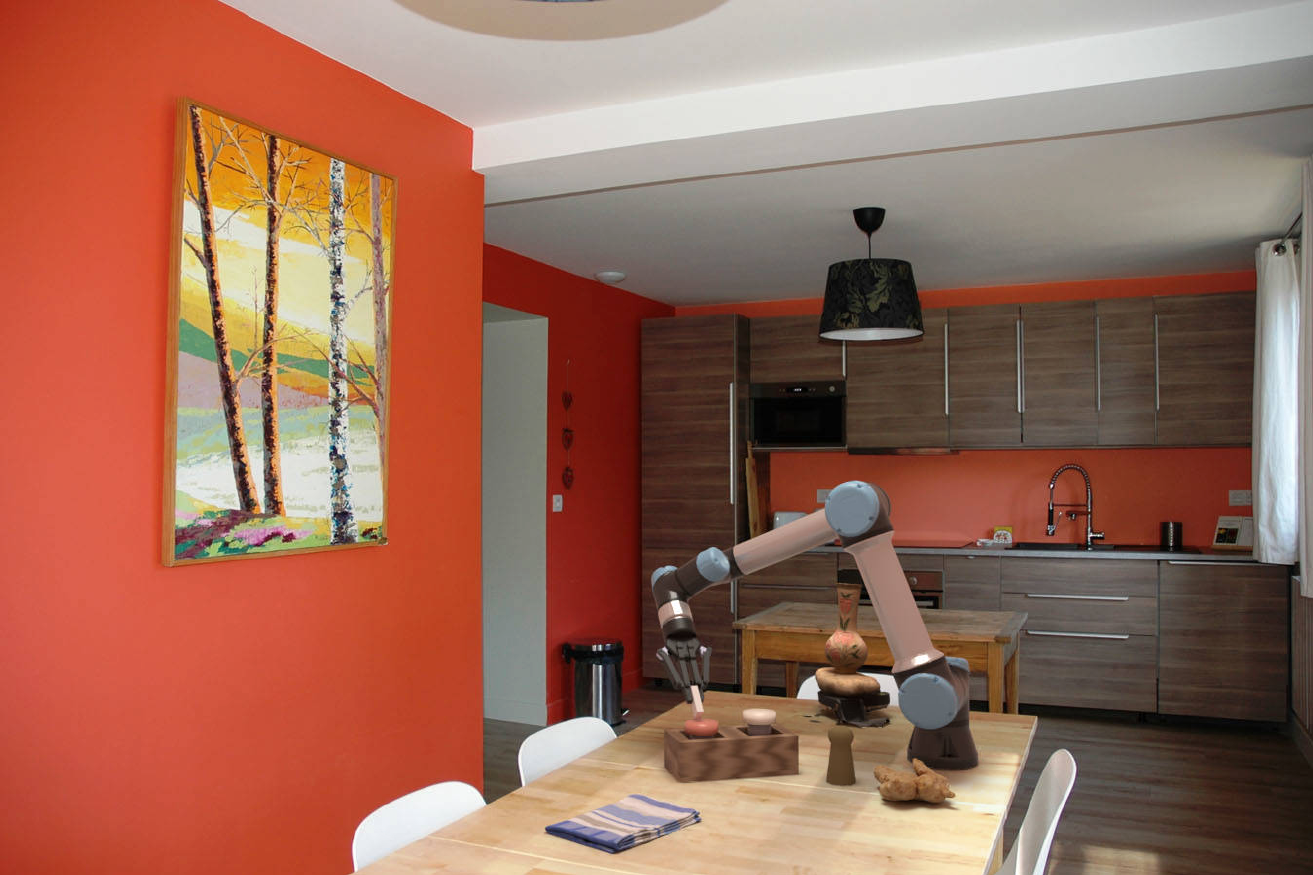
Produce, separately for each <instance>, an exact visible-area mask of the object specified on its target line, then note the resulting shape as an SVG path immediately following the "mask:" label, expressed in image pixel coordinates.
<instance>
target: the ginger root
mask: <svg viewBox="0 0 1313 875" xmlns="http://www.w3.org/2000/svg"><path fill="white" fill-rule="evenodd" d="M912 764H913V765H912V766H913V771H914V773H915V774H914V773H911V772H909V771H899V770H898V771H896V770H895V769H894V768H892V767H889V766H887V765H881V764H880V765H878V764H877V765H875V767H874V770H873V774H874V775H873V776H874V779H875V780H876V781H877V782H879V783H880V784H881V785H880V786H879V794H880V797H882V798H883V799H885V800H886V801H888V802H892V803H893V802H894V803H895V802H896V803H897V802H901V801H910V800H911V801H913V800H914V801H918V800H921V801H925V802H928V803H932V804H943V803H944V800H946V799H954V798H955V797H956V793H955V792H954V791H951V790H950V783H949V782H948V778H947V777H945V776H944V775H941V774H940V773H939V774H938V773H936V772H935V771H934V770H933V769H932V768H929V767H926V765H924V763H923V762H922V761H920V760H917V759H913V763H912Z"/></svg>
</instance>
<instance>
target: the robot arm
mask: <svg viewBox="0 0 1313 875" xmlns="http://www.w3.org/2000/svg"><path fill="white" fill-rule="evenodd" d="M891 502H892V501H891V498H890V496H889V495H888V492H886V490H885V489H884V488H882V487H881V486H880V485H879V484H877V483H873V482H870V481H869V482H868V481H860V480H850V481H847V482H844V483H841V484H839V485H837V486H836V487H834V488H833V489H832V490H831V492H829V494H828V496H827V497H826V500H825V504H824V508H822V509H819V510H818V511H815V512H813V513H809V514H808V515H805V516H804V517H801V518H798V519H796V520H793V521H791V522H789V523H786V524H785V525H781V526H779V527H776V528H774V529H772V530H770V531H768V532H765V533H763V534H761V535H758V536H756V537H753V538H751V539H748V540H746V541H743V542H741V543H739V544H737V545H734V546H732V547H729V548H727V549H724V550H720V549H718V548H717V547H713V546H712V547H709V548H708V549H706V550H703V551H701V552H700V553H699V554H698V555H696V556H695V557H693V558H691V559H690V560H689V561H687V562H686V563H684V564H683V565H682V566H680V567H676V566H673V565H666V566H665V567H662V566H661V567H659V568H657V569H656V570H654V572H653V573H652V575H651V579H650V582H651V590H652V591H651V592H652V594H653V598H654V601H655V605H656V609H657V615H658V620H659V624H660V628H661V633H662V639H663V642H664V646H663V647H662V648H661V647H660V648H658V649H657V652H656V653H655V654H656V655H655V659H657V660H658V661H659V662H660V664H661V665H662V667H663V669H664V671H665V672H666V675H667V677H668V679H669V681H670V682H671V684H672V686H673V688H674V689H673V690H675V691H682V692H681V693H682V695H684V698H685V702H686V704H687V705H691V711H692V714H693V719H703V718H702V717H703V715H704V713H705V710H704V706H703V703H704V701H705V694H704V691H703V690H706V689H707V687H708V684H709V682H710V657H711V654H712V651H713V648H712V647H711V646H708V647H707V648H706V647H704V645H703V646H702V643H701V642H700V640H699V639H698V636H697V635H698V634H697V631H696V628H695V623H694V619H693V615H692V611H691V608H690V604H689V601H690V599H692V598H693V597H695V596H697V595H698V594H700V593H701V592H703V591H705V590H706V589H708V588H711V587H714V586H718V585H722V584H730V583H733V582H735V581H736V580H738V579H740V578H743V577H745V576H747V575H749V574H751V573H754V572H757V571H759V570H761V569H764V568H767V567H770V566H772V565H774V564H777V563H779V562H782V561H784V560H787V559H789V558H792V557H794V556H797V555H799V554H803V553H804V552H807V551H809V550H812V549H813V548H817V547H819V546H821V545H824V544H826V543H829V542H831V541H835V540H837V539H839V541H840V544H841V547H842V548H843V551H844V552H846V553H849V554H850V555H852V556H853V558H854V560H855V562H856V566H857V568H858V571H859V573H860V576H861V578H862V580H863V582H864V586H865V588H866V591H867V593H868V595H869V599H870V600H871V604H872V606H873V608H874V611H875V614H876V616H877V619H878V621H879V624H880V626H881V629H882V631H883V633H884V636H885V639H886V642H887V644H888V647H889V649H890V652H891V654H892V657H893V659H894V664H893V667H892V669H891V674H892V677H893V679H894V681H895V684H896V687H897V690H898V693H897V699H898V701H897V702H898V706H899V709H900V711H901V713H902V715H903V716H904V718H906V720H907V721H908V722H910V724H912V725H914V726H913V729H912V733H911V736H910V739H909V742H908V745H907V749H906V752H907V753H906V756H907V758H906V759H907V761H909V762H910V763H911V764H913V759H917V760H920V761H922V762H923V763H924V765H926V767H928V768H929V769H937V770H948V771H949V770H950V771H951V770H953V771H956V770H957V769H959V770H968V769H973V768H975V767H977V766H978V765H979V754H978V750H977V747H976V744H975V740H974V738H973V734H972V730H971V727H970V674H971V671H970V665H969V661H968V660H967V659H966V658H962V657H954V656H945V653H943V652H942V651H940V650H937V649H936V648H935V647H934V646H933V642H932V640H931V638H930V636H929V633H928V630H927V627H926V626H925V625H926V624H925V623H924V621H923V618H922V615H921V613H920V610H919V608H918V605H917V602H916V601H915V598H914V595H913V593H912V591H911V588H910V585H909V582H908V580H907V578H906V576H905V573H904V570H903V568H902V566H901V562H900V561H899V558H898V556H897V553H896V551H895V548H894V545H893V543H892V539H893V537H894V534H895V533H896V531H895V528H894V527H893V524H892V521H891V519H890V517H891V513H892V503H891ZM698 653H700V657H701V658H702V659H701V658H700V659H701V673H700V672H699V666H698V664H697V656H698ZM671 658H672V659H673V660H674V662H675V665H676V666H674V664H673V661H672V660H671ZM676 667H677V670H676ZM687 667H688V668H687ZM688 671H689V673H688ZM689 674H690V676H689ZM700 674H701V675H700ZM690 679H691V680H690ZM690 681H691V682H692V685H691V682H690ZM955 769H956V770H955Z"/></svg>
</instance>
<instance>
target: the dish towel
mask: <svg viewBox="0 0 1313 875" xmlns="http://www.w3.org/2000/svg"><path fill="white" fill-rule="evenodd" d="M700 814H701V812H700V811H699V810H697V809H696V808H691V807H687V806H682V805H680V804H675V803H671V802H670V801H663V800H662V801H661V800H659V799H656V798H653V797H651V796H648V795H645V794H638V793H634V794H629V795H628V796H626V797H624V798H622V799H621V800H617V801H616V802H613V803H610V804H607V805H604V806H602V807H601V806H600V807H598V808H595V809H594V810H591V811H588V812H585V813H581V814H579V815H576V816H573V817H572V818H570V819H566V820H563V821H559V822H556V823H552V824H550V825H546V826H545V827H544V830H545V832H546V833H548V834H550V835H553V836H556V837H558V838H562V839H565V840H567V841H570V842H573V843H576V844H579V845H582V846H585V847H588V848H589V847H590V848H593V849H596V850H599V851H602V852H605V853H608V854H611V855H613V854H615V853H618V852H620V851H621V852H622V851H625V850H627V849H630V848H632V847H636V846H640V845H643V844H645V843H648V842H649V841H652V840H654V839H656V838H659V837H662V835H663V836H666V835H670V834H673V833H675V832H678V831H680V830H681V829H684V828H686V827H688V826H691V825H694V824H697V823H699V822H700V821H702V820H703V819H702V817H701V816H699V815H700ZM696 822H697V823H696ZM677 830H678V831H677ZM672 832H673V833H672Z"/></svg>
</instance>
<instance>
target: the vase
mask: <svg viewBox="0 0 1313 875" xmlns="http://www.w3.org/2000/svg"><path fill="white" fill-rule="evenodd" d="M835 584H836V589H837V590H836V592H837V605H838V616H837V617H838V618H837V619H838V620H837V627H836V630H835V632H834V633H833V634H832V635H831V636H830V637H829V638H828V639H827V641H826V643H825V646H824V656H825V659H826V660H827V662H828V664H830V665H831V667H830V666H829V667H821V668H818V669H817V670H816V672H815V674H814V678H815V681H816V683H817V687H818V691H817V699H818V700H817V702H818V703H819V704H820V706H819V707H818V709H817V713H816V714H815V715H814V717H816V716H817V717H818V716H819V714H820V711H822V710H824V711H825V710H827V709H828V710H834V713H835V717H836V719H837V720H838V721H837V723H836V724H837V725H840V724H841V722H842V723H843V724H846V723H847V724H848V723H849V724H853V725H856V726H857V727H860V729H863V728H862V727H867V728H869V727H870V726H872V725H874V726H876V727H877V728H878V727H882V728H884V724H885V723H888V722H890V723H891V721H890V718H888V717H882V718H872V719H871V718H868V716H869V714H870V713H873V712H874V711H880V710H884V709H887V708H888V706H890V704H891V695H890V692H887V691H881V683H879V682H878V680H877V679H876V678H875V677H874V676H869V675H866V674H864V673H861V672H858V671H857V670H858V669H860V668H861V667H862V666H863V665H864V664H865V663H866V662H867V658H868V654H869V652H868V651H869V650H868V647H867V644H866V642H865V641H864V639H862V637H861V635H860V634H859V632H858V625H857V624H858V622H857V621H858V610H859V603H860V597H861V592H862V587H863V585H862V584H856V583H854V584H853V583H852V584H851V583H840V582H839V583H838V582H836V583H835ZM836 706H837V711H836V710H835V708H836ZM866 712H869V713H868V714H867V713H866ZM801 717H804V718H813V716H811V715H805V714H803V715H801ZM885 721H886V722H885ZM809 722H819V723H821V724H823V723H822V722H821V721H819V720H815V719H810V720H809Z"/></svg>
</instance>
